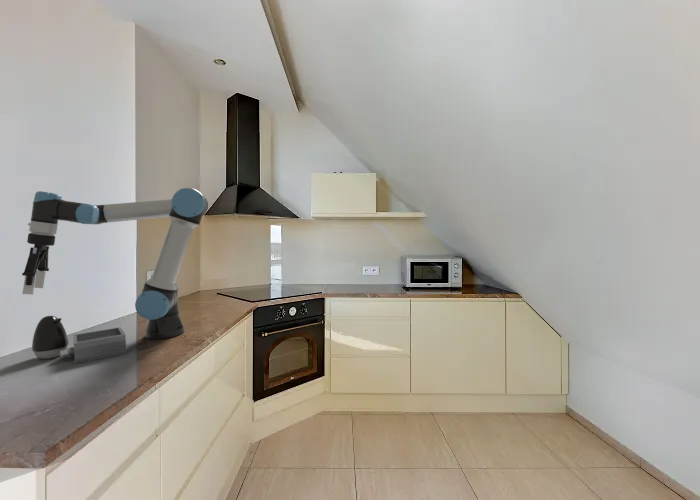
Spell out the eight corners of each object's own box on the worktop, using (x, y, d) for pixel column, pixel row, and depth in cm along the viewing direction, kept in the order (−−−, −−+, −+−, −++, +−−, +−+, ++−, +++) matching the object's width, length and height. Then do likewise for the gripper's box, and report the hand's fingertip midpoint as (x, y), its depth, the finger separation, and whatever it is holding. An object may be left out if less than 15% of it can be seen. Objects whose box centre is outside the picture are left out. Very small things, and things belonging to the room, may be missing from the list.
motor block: (121, 344, 140) (120, 327, 139) (126, 353, 128) (125, 334, 128) (60, 355, 128) (59, 337, 127) (59, 366, 116) (58, 346, 116)
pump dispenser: (48, 362, 121) (45, 319, 121) (25, 361, 123) (21, 319, 123) (76, 352, 131) (74, 312, 131) (54, 351, 133) (51, 312, 133)
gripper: (38, 231, 136) (30, 284, 136) (17, 233, 114) (7, 296, 114) (62, 234, 140) (54, 286, 140) (46, 236, 118) (37, 297, 118)
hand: (33, 290), depth 127 cm, fingers open, 13 cm apart
